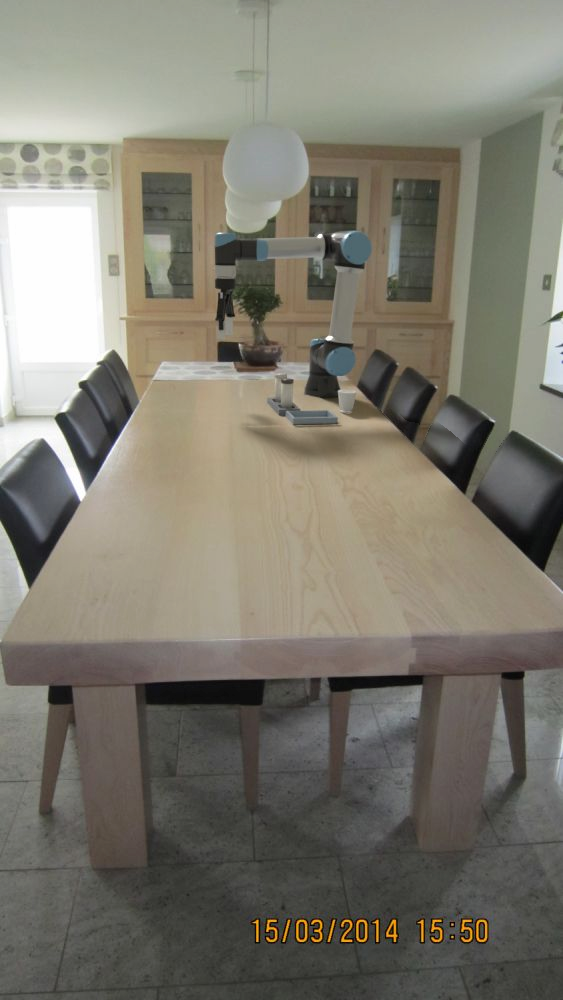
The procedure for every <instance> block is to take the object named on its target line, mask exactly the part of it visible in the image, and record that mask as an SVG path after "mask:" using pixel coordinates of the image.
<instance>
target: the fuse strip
mask: <svg viewBox="0 0 563 1000" xmlns="http://www.w3.org/2000/svg"><path fill="white" fill-rule="evenodd" d="M274 400H275V397H267V398H266V404H268V405H269V406H270V408H271V409H272V410H273V411H274V412H275V413H276V414H277V415H278V416H286V411H302V410H301V409H300V407H299V406H298V405H296V404H295V403H294V402H293V406H292V408H281V402H274Z"/></svg>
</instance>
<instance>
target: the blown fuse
mask: <svg viewBox="0 0 563 1000" xmlns="http://www.w3.org/2000/svg"><path fill="white" fill-rule="evenodd" d="M294 381H295V380H294V379H293V378H288V377H287V378H284V379H281V408H292V406H293V403H294V402H293V401H294Z"/></svg>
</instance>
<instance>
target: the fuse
mask: <svg viewBox="0 0 563 1000" xmlns="http://www.w3.org/2000/svg"><path fill="white" fill-rule="evenodd" d="M284 378H288V374H287V373H281V372H280V373H278V372H277V373H275V374H274V398H275V400H274V402H281V379H284Z"/></svg>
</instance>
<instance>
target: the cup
mask: <svg viewBox="0 0 563 1000" xmlns="http://www.w3.org/2000/svg"><path fill="white" fill-rule="evenodd" d="M356 396H357V391H356V390H353V389H340V390H339V391H338V396H337V398H338V404H339V405H338V406H339V409H340V413H341V414H345V415H346V414H347V415H348V414H352V412H353V411H352V410H353V408H354V405H355V400H356Z"/></svg>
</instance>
